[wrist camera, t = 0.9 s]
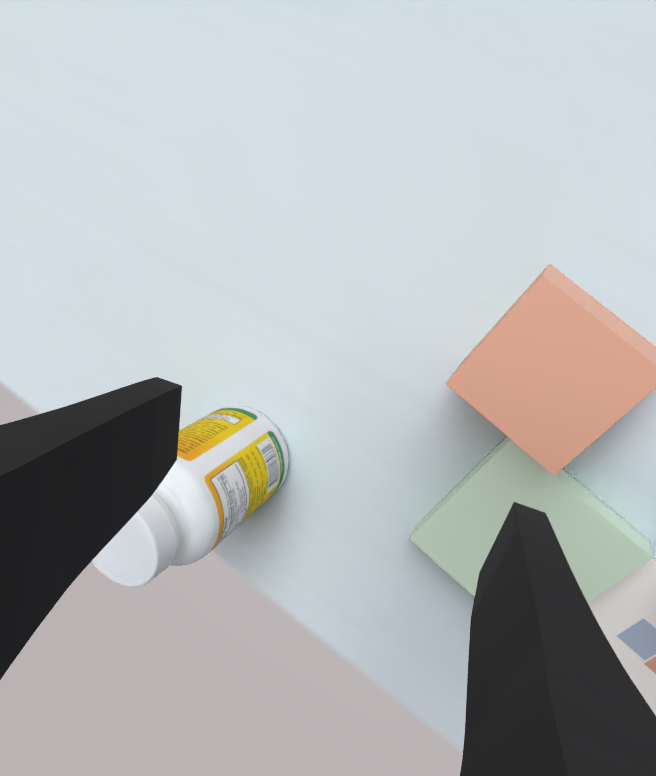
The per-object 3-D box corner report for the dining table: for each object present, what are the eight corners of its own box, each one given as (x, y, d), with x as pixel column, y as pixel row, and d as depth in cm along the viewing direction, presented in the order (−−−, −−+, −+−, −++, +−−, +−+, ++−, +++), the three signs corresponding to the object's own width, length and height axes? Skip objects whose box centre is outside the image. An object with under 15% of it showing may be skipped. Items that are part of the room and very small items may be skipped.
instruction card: (775, 660, 23) (776, 664, 22) (654, 724, 25) (654, 727, 25) (650, 557, 23) (651, 559, 23) (547, 630, 26) (547, 632, 26)
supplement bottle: (310, 455, 29) (196, 559, 20) (256, 513, 31) (135, 627, 23) (236, 381, 29) (95, 454, 21) (189, 444, 32) (47, 531, 24)
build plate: (650, 541, 23) (653, 558, 22) (531, 628, 27) (528, 645, 25) (514, 429, 24) (511, 439, 23) (415, 526, 27) (408, 538, 26)
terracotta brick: (656, 347, 21) (669, 375, 18) (559, 435, 24) (554, 475, 20) (549, 263, 22) (542, 275, 18) (465, 357, 24) (445, 383, 21)
